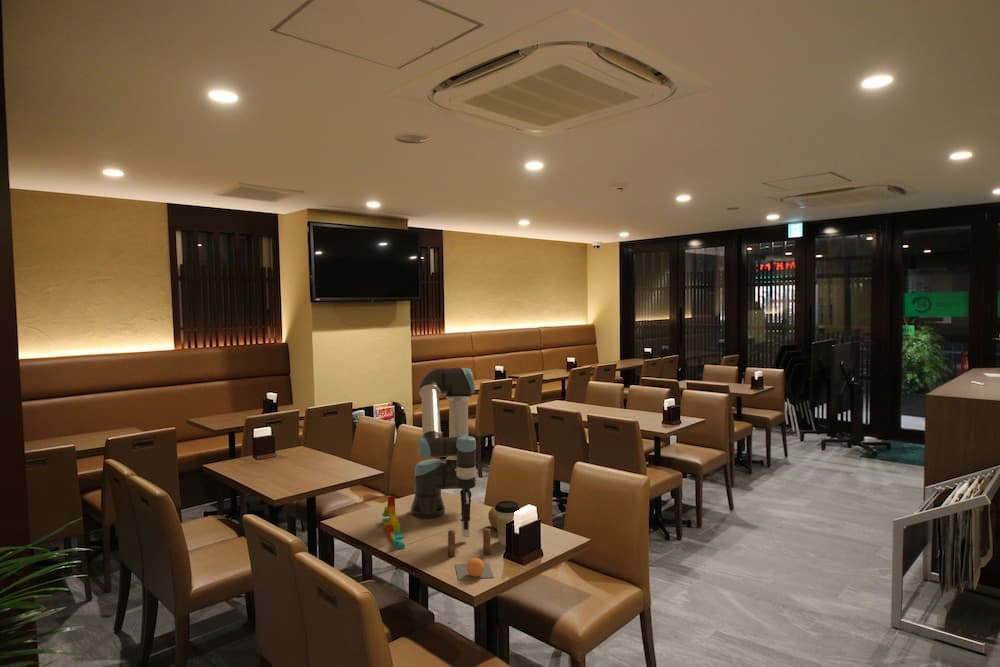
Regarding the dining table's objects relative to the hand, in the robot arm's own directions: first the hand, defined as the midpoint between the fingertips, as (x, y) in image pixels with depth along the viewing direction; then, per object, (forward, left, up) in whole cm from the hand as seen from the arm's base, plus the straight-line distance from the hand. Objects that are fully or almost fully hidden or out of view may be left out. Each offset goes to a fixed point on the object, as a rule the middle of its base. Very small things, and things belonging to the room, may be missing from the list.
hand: (465, 536), depth 229 cm
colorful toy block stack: (-11, -28, -3) cm, 30 cm away
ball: (+31, 0, +1) cm, 31 cm away
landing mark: (+27, 0, -2) cm, 27 cm away
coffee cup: (+3, +16, -2) cm, 16 cm away
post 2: (+13, +6, -2) cm, 15 cm away
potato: (-11, +16, -2) cm, 20 cm away
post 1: (+13, -6, -2) cm, 15 cm away
